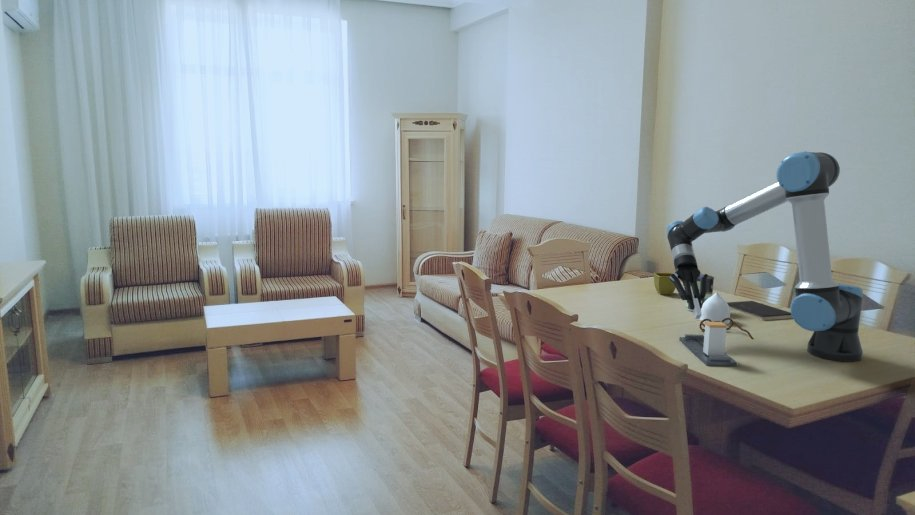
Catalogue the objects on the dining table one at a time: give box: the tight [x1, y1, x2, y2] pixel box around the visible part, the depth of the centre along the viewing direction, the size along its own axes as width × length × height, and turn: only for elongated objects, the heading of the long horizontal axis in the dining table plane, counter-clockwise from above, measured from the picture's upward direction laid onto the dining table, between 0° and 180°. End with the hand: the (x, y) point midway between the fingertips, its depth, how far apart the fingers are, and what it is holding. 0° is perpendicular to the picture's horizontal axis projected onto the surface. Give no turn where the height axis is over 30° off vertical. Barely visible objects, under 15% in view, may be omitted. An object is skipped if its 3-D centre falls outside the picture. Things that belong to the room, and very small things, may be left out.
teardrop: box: [699, 290, 731, 325], centre depth 238 cm, size 11×11×12 cm
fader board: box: [678, 333, 738, 367], centre depth 199 cm, size 26×9×2 cm, turn 178°
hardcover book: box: [726, 300, 793, 321], centre depth 253 cm, size 16×23×2 cm
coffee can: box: [685, 274, 715, 312], centre depth 255 cm, size 10×10×14 cm
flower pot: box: [653, 272, 676, 295], centre depth 285 cm, size 9×9×9 cm
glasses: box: [699, 317, 754, 340], centre depth 219 cm, size 13×13×5 cm
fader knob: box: [703, 322, 728, 355], centre depth 192 cm, size 4×5×10 cm
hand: (698, 316), depth 206 cm, fingers closed
